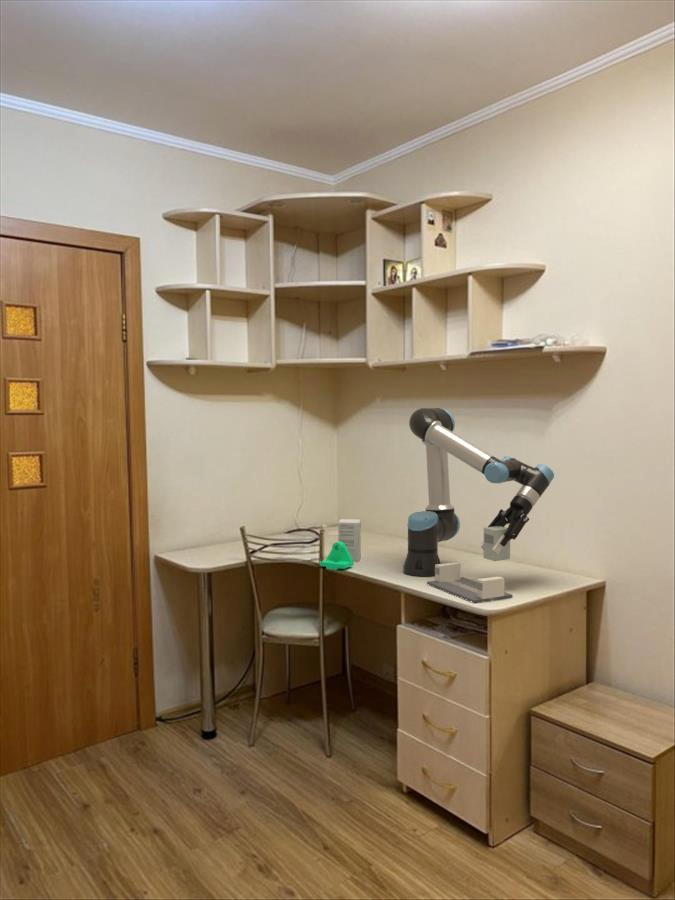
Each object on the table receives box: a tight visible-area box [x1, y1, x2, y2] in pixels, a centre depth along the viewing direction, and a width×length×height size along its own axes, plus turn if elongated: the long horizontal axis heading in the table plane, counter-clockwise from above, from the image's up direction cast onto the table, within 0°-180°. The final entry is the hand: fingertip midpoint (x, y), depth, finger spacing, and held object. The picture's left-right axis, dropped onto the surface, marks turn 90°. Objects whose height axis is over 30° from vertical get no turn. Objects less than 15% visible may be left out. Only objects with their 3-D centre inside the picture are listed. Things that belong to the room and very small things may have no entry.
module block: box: [483, 526, 511, 562], centre depth 245 cm, size 6×7×11 cm
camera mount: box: [319, 541, 355, 571], centre depth 278 cm, size 12×8×10 cm, turn 61°
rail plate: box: [426, 562, 514, 604], centre depth 241 cm, size 28×16×7 cm, turn 26°
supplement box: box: [337, 518, 362, 562], centre depth 293 cm, size 10×9×17 cm
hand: (488, 550), depth 243 cm, fingers closed on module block, 6 cm apart
